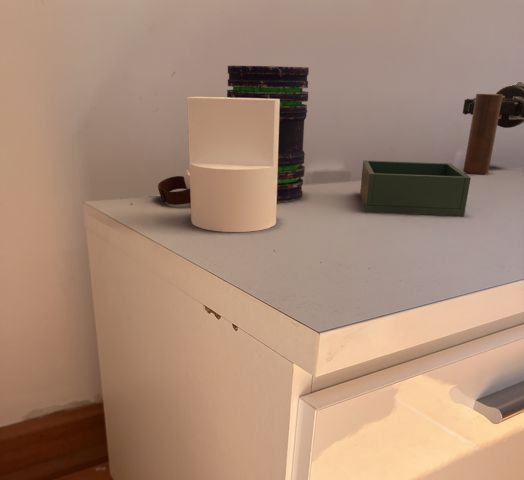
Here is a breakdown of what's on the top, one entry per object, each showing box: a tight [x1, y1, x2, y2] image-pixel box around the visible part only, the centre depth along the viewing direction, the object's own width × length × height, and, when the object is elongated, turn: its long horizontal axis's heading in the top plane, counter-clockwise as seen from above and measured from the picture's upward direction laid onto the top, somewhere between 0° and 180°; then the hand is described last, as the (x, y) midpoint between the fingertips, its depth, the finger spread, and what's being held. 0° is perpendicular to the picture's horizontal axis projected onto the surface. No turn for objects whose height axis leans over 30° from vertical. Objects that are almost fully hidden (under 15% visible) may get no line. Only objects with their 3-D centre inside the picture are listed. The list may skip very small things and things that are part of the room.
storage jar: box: [226, 65, 310, 204], centre depth 71 cm, size 10×10×15 cm
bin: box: [359, 159, 472, 217], centre depth 70 cm, size 11×11×4 cm
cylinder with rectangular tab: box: [186, 96, 280, 233], centre depth 58 cm, size 9×9×12 cm
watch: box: [157, 169, 191, 206], centre depth 68 cm, size 8×5×4 cm, turn 27°
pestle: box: [462, 93, 503, 175], centre depth 93 cm, size 4×4×12 cm
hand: (498, 109), depth 100 cm, fingers open, 8 cm apart
